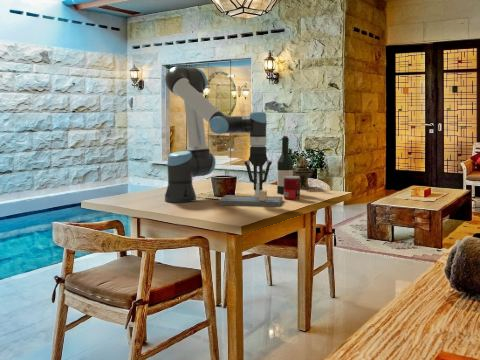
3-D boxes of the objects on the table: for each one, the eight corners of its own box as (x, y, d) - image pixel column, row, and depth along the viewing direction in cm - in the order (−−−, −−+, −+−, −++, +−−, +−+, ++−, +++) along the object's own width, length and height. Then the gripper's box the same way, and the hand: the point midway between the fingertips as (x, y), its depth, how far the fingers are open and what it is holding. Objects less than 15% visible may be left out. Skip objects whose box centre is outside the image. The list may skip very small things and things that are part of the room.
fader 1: (254, 197, 246) (254, 188, 246) (256, 195, 251) (256, 186, 250) (261, 197, 246) (261, 188, 245) (262, 195, 250) (262, 186, 250)
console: (218, 204, 239) (218, 200, 239) (225, 199, 255) (225, 195, 255) (278, 206, 234) (278, 202, 234) (282, 200, 250) (282, 196, 250)
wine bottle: (274, 192, 275) (274, 136, 272) (288, 191, 279) (288, 135, 275) (281, 194, 268) (281, 136, 264) (295, 193, 271) (296, 136, 267)
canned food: (299, 200, 251) (299, 177, 250) (282, 199, 253) (282, 177, 251) (300, 197, 259) (300, 175, 257) (284, 197, 260) (284, 175, 259)
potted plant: (288, 185, 302) (288, 151, 299) (304, 185, 303) (305, 151, 300) (296, 190, 282) (296, 154, 280) (313, 190, 283) (314, 154, 281)
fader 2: (258, 200, 237) (258, 191, 236) (260, 198, 242) (260, 189, 241) (265, 200, 236) (265, 191, 236) (266, 198, 241) (266, 189, 241)
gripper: (242, 146, 234) (242, 198, 237) (271, 146, 231) (271, 198, 234) (245, 145, 241) (245, 195, 244) (273, 145, 239) (273, 196, 242)
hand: (258, 197), depth 239 cm, fingers closed
